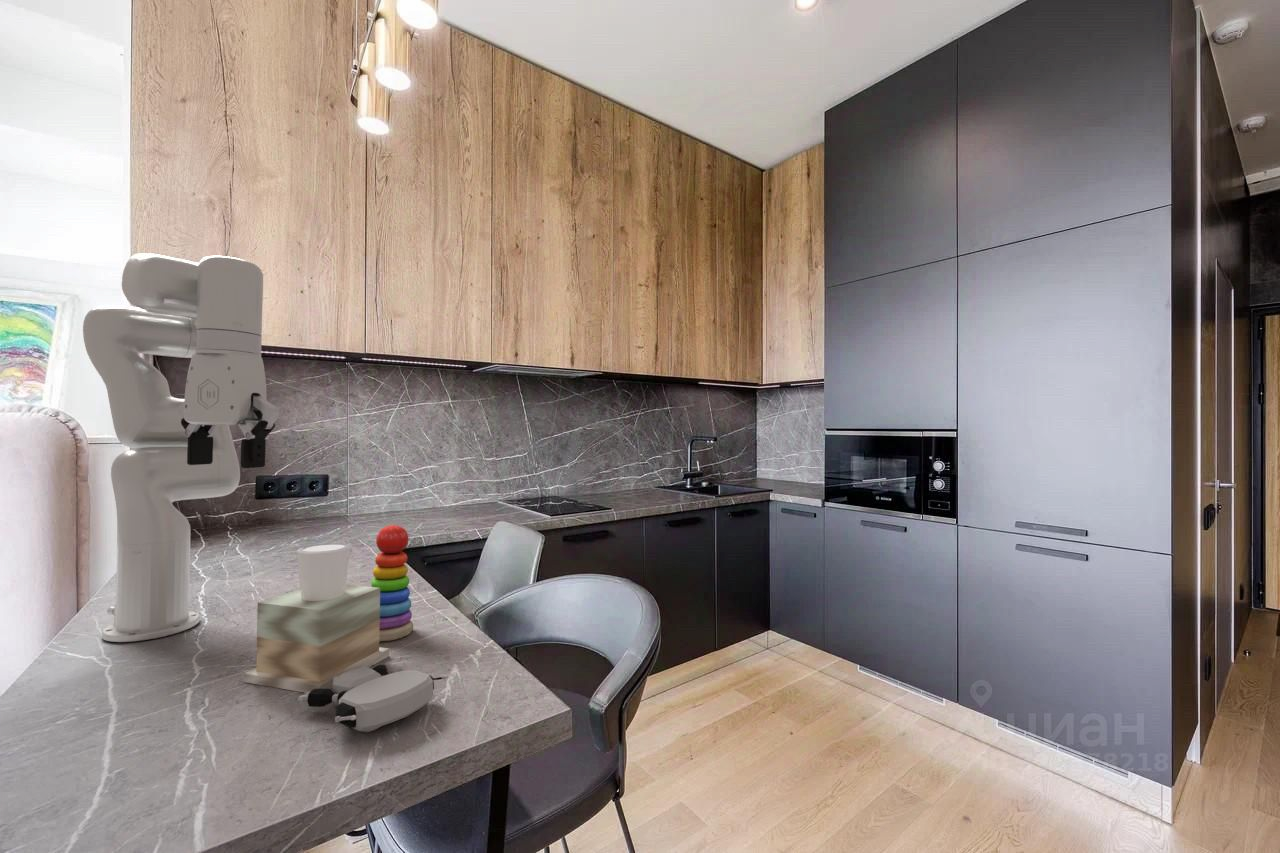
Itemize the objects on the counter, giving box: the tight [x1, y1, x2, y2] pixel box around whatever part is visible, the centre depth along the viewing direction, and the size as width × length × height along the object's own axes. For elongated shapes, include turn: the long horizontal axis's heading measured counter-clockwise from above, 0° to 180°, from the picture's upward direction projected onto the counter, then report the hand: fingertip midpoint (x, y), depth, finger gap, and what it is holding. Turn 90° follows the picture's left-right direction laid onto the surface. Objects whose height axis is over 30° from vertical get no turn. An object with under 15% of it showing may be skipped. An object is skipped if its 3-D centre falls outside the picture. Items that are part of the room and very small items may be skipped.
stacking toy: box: [370, 524, 414, 642], centre depth 93 cm, size 8×8×19 cm
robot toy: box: [297, 664, 449, 733], centre depth 68 cm, size 12×4×15 cm
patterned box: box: [243, 583, 390, 694], centre depth 80 cm, size 13×13×11 cm
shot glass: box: [296, 543, 351, 601], centre depth 80 cm, size 7×7×7 cm
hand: (226, 465), depth 78 cm, fingers open, 9 cm apart
